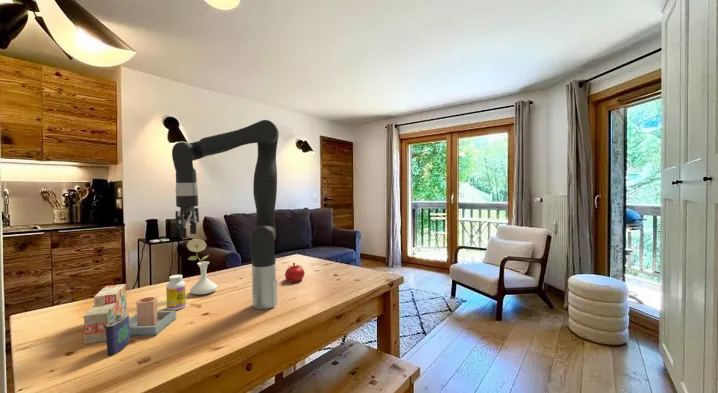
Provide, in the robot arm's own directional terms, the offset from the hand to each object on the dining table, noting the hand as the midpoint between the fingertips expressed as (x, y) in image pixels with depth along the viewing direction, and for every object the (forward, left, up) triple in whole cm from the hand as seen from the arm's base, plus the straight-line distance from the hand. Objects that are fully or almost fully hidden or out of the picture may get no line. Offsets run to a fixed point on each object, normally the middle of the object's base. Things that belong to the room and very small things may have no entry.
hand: (188, 235), depth 123 cm
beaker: (+8, +14, -29) cm, 33 cm away
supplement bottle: (+7, -3, -30) cm, 31 cm away
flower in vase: (+4, -20, -30) cm, 36 cm away
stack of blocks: (+22, +13, -30) cm, 40 cm away
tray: (+9, +14, -30) cm, 34 cm away
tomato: (-36, -35, -30) cm, 59 cm away
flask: (+9, +27, -30) cm, 42 cm away
